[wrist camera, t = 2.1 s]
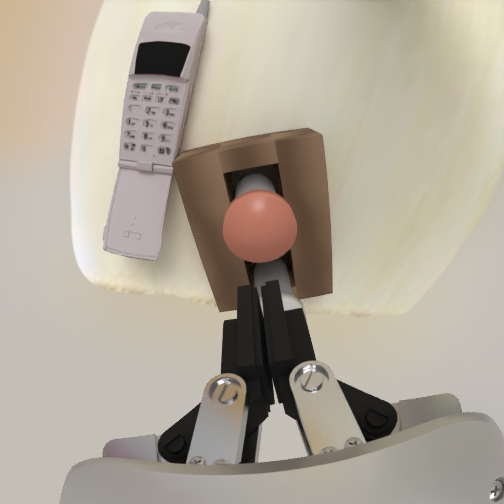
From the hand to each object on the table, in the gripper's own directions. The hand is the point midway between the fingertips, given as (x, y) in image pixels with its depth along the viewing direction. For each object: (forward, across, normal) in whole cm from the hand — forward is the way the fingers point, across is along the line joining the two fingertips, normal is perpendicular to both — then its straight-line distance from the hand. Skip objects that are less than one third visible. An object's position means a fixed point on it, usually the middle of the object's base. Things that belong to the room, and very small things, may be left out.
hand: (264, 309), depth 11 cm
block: (+18, 0, +3) cm, 18 cm away
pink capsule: (+13, 0, -1) cm, 13 cm away
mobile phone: (+18, +7, -9) cm, 21 cm away
